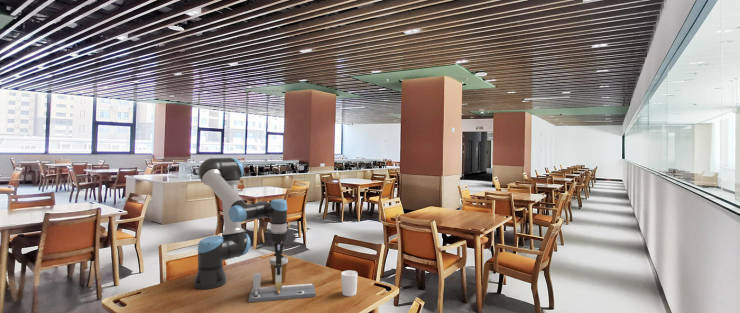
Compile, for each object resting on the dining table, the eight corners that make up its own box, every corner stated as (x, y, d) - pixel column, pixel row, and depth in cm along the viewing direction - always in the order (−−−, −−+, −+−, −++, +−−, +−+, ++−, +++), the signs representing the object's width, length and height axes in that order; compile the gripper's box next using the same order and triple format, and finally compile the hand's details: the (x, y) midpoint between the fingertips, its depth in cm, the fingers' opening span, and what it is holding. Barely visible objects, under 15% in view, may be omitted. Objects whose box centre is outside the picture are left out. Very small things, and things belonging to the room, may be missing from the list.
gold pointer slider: (275, 293, 166) (275, 265, 166) (275, 287, 173) (275, 260, 173) (281, 293, 167) (281, 265, 166) (281, 287, 174) (281, 260, 174)
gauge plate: (248, 302, 161) (248, 280, 161) (250, 292, 173) (250, 271, 173) (315, 296, 168) (315, 275, 168) (313, 287, 180) (313, 267, 180)
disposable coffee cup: (290, 278, 192) (290, 256, 192) (284, 285, 182) (284, 261, 182) (273, 277, 193) (273, 255, 193) (266, 284, 183) (266, 261, 183)
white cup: (344, 298, 167) (345, 276, 167) (338, 292, 174) (338, 271, 174) (360, 295, 170) (360, 274, 170) (353, 289, 177) (353, 269, 177)
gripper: (287, 237, 161) (287, 285, 161) (286, 226, 184) (286, 267, 185) (269, 238, 159) (269, 286, 159) (271, 227, 183) (271, 268, 183)
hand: (278, 276), depth 172 cm, fingers open, 12 cm apart
